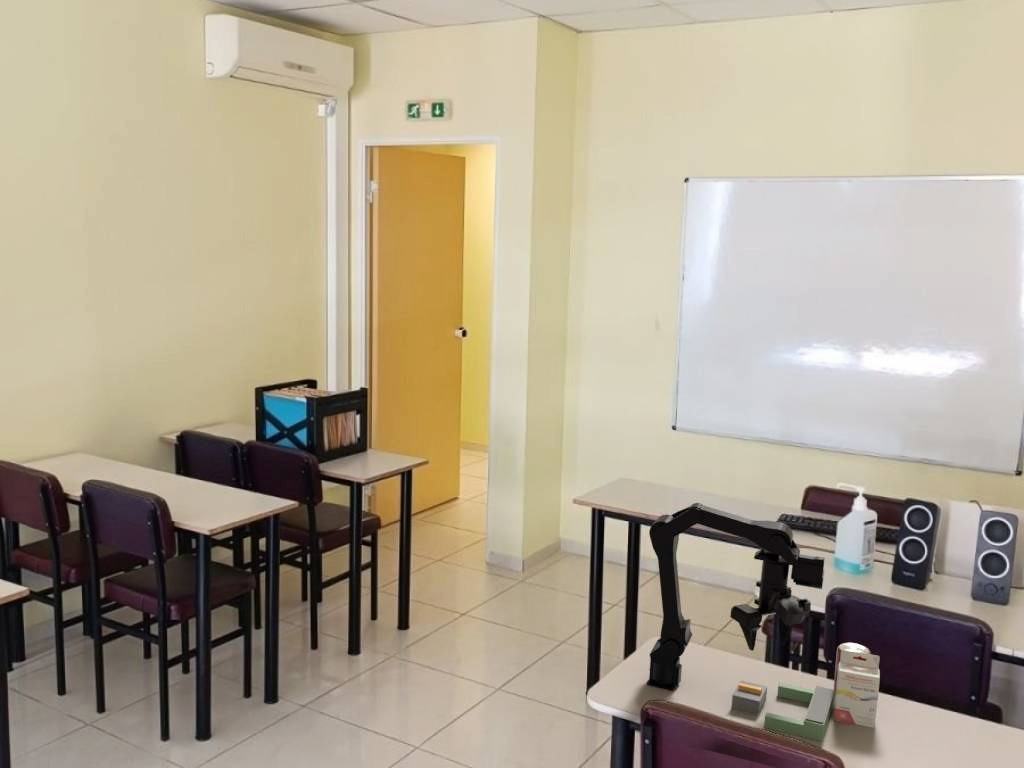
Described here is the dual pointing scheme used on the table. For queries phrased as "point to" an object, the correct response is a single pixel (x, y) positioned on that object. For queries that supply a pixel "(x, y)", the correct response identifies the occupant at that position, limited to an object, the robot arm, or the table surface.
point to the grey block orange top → (749, 697)
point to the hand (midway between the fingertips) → (766, 646)
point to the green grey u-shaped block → (814, 717)
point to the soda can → (854, 648)
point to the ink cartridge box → (857, 689)
